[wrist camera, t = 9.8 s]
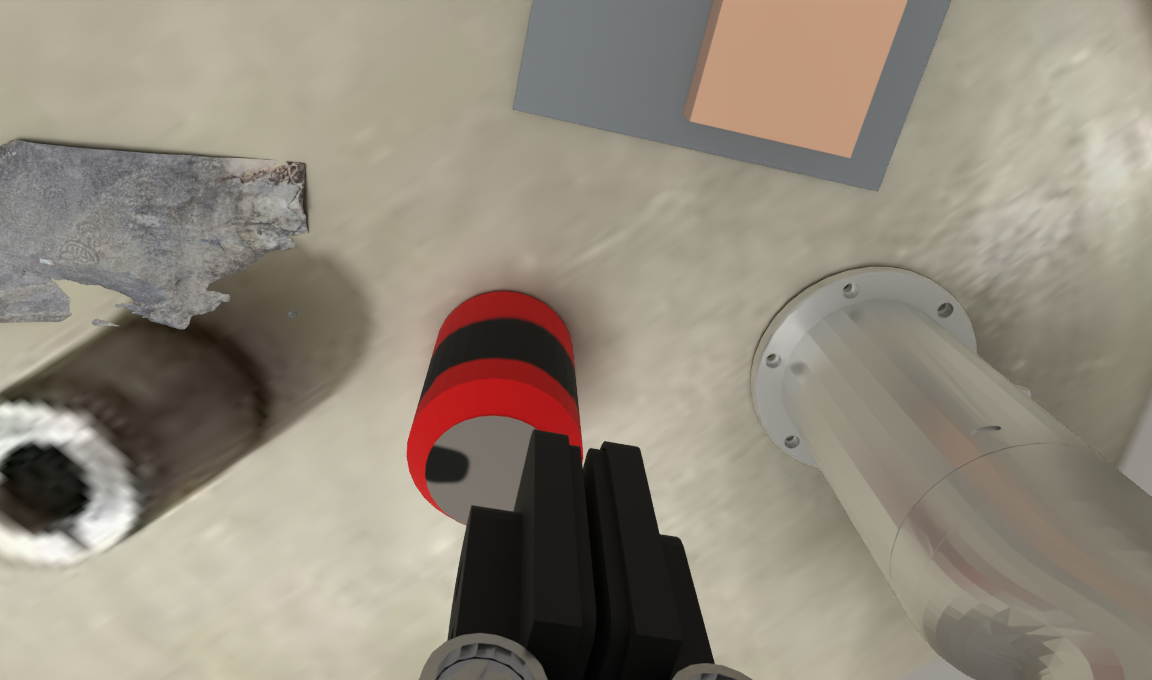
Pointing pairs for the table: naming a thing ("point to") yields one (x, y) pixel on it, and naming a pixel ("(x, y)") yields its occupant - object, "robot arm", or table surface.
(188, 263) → the stone slab
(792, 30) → the tile
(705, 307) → the table surface
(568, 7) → the mat
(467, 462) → the soda can
